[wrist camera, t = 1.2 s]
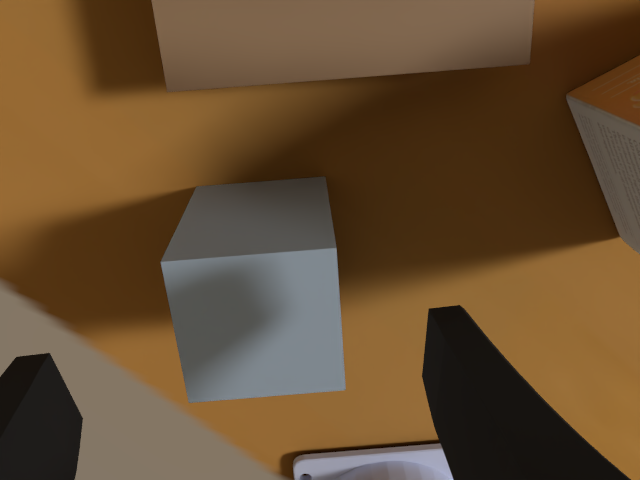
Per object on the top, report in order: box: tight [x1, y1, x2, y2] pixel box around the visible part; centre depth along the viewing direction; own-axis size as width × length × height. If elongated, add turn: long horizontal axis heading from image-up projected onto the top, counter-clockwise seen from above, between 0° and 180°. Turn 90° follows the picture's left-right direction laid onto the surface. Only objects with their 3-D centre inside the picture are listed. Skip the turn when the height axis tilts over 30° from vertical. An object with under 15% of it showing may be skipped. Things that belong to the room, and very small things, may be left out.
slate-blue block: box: [161, 177, 346, 403], centre depth 19 cm, size 4×4×6 cm
